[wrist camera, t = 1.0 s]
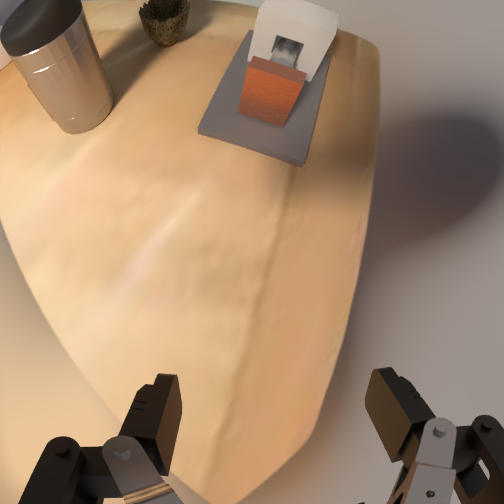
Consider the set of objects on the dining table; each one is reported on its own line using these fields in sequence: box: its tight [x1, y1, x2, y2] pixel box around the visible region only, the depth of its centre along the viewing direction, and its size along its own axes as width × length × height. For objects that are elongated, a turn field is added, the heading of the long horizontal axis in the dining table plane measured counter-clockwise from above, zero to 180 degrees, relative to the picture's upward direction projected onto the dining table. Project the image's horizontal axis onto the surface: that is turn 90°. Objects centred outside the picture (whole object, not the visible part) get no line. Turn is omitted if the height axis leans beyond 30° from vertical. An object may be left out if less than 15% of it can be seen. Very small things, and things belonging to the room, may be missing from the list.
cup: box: [139, 0, 190, 47], centre depth 33 cm, size 7×7×8 cm
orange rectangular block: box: [238, 37, 307, 127], centre depth 32 cm, size 6×11×9 cm, turn 163°
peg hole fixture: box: [198, 0, 340, 167], centre depth 33 cm, size 14×22×12 cm, turn 163°
